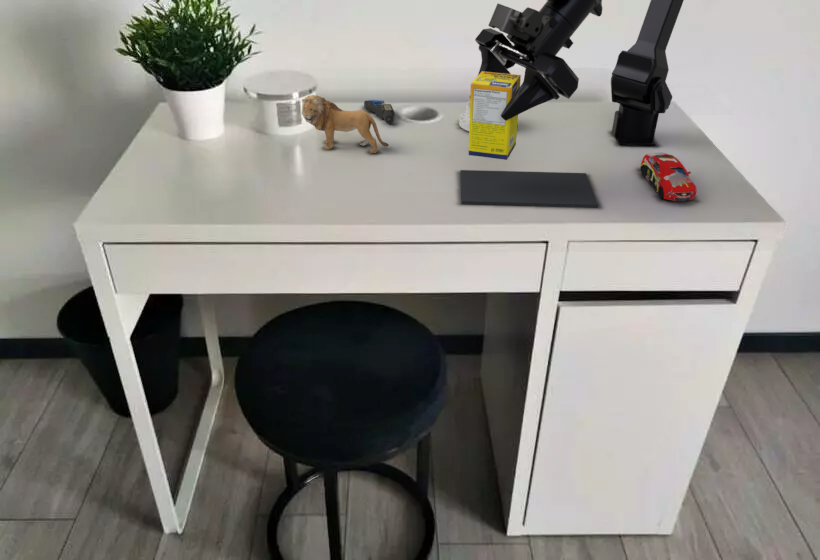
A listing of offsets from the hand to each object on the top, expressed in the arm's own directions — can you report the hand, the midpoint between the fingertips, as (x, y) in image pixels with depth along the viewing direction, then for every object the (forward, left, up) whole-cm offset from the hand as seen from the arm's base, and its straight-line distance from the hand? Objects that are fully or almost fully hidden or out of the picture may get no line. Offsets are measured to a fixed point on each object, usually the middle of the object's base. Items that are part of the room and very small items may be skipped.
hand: (486, 109), depth 102 cm
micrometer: (+18, -31, -13) cm, 38 cm away
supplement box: (-1, -1, -7) cm, 7 cm away
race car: (-29, -3, -13) cm, 32 cm away
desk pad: (-7, -1, -13) cm, 15 cm away
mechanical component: (-2, -27, -13) cm, 30 cm away
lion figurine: (+23, -15, -13) cm, 31 cm away
